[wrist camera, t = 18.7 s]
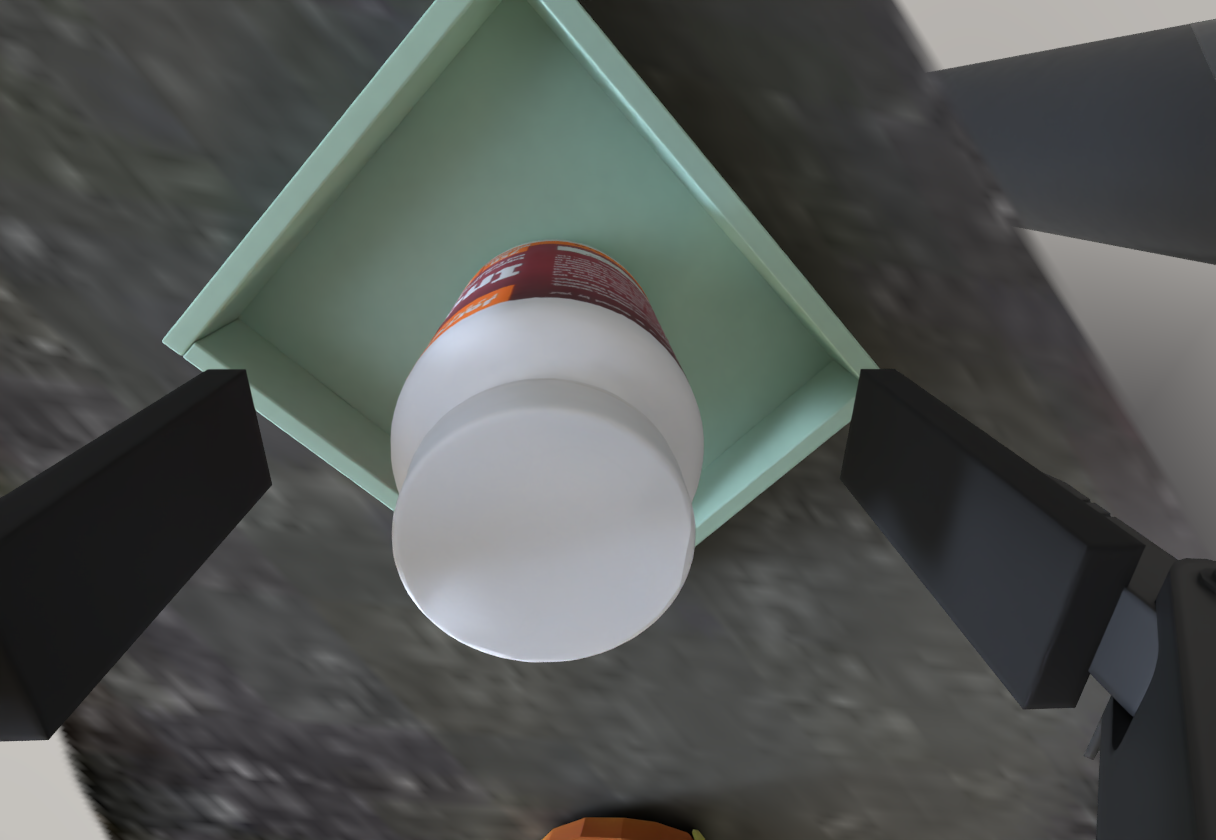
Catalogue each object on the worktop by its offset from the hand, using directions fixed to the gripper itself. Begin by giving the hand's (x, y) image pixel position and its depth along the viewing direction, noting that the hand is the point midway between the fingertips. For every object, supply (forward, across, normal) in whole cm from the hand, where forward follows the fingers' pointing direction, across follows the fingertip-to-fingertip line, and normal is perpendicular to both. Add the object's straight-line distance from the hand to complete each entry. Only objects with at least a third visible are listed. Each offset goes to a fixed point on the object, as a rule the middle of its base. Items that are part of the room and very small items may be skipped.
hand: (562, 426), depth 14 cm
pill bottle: (+7, 0, 0) cm, 7 cm away
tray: (+7, 0, 0) cm, 7 cm away
